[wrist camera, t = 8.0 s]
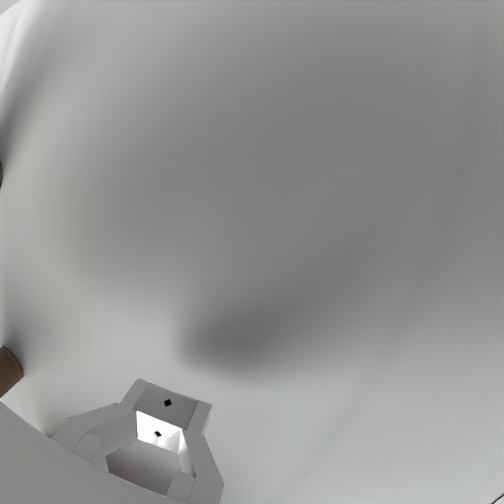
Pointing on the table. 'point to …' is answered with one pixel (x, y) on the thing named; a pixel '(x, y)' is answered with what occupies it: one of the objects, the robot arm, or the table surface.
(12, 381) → the post
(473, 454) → the table surface
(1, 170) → the post
